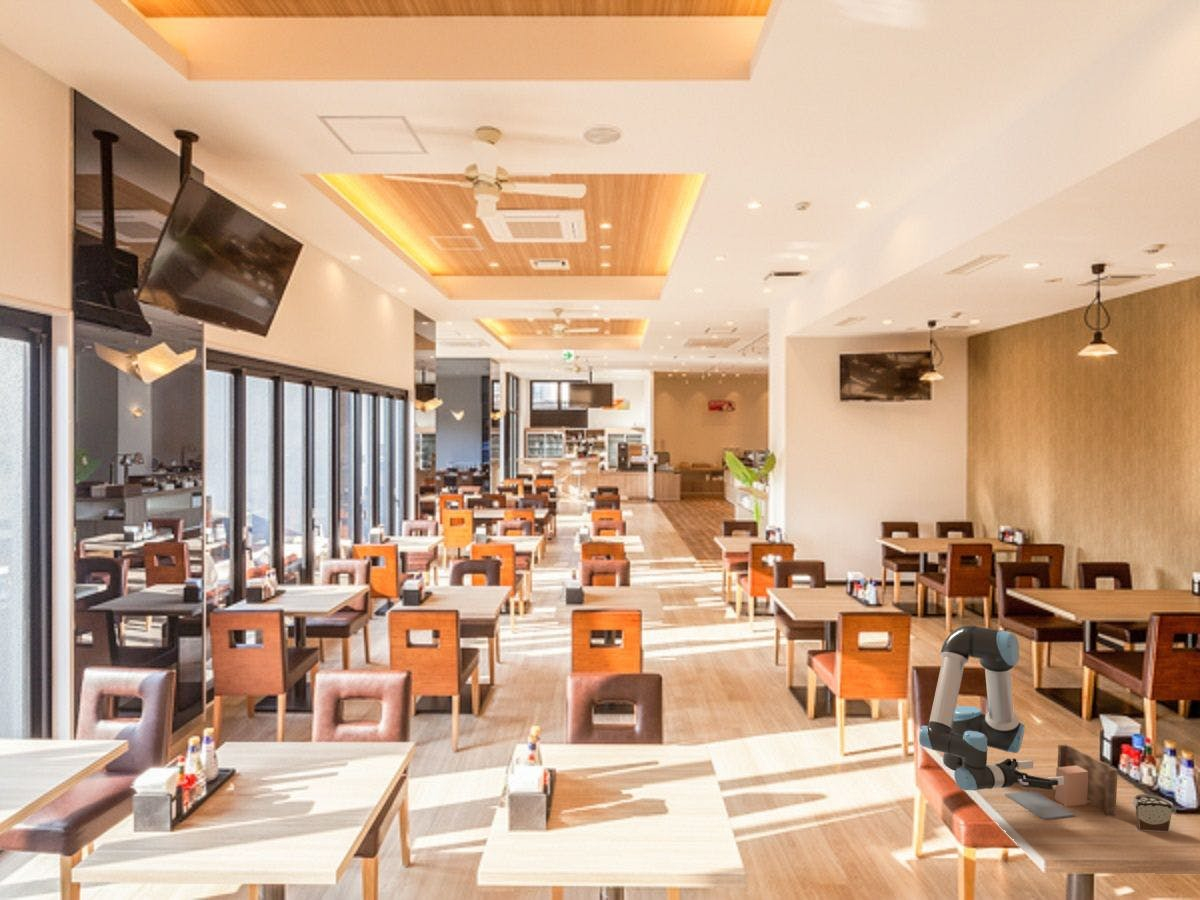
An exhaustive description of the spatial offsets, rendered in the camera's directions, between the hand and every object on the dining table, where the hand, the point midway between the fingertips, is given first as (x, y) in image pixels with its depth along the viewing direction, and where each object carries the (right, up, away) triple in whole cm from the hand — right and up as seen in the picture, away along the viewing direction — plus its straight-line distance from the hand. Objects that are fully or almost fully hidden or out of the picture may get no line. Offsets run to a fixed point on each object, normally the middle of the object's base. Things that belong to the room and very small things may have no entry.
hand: (1047, 772), depth 277 cm
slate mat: (-3, -12, 0) cm, 12 cm away
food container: (+27, -13, -13) cm, 33 cm away
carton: (+11, -12, +4) cm, 17 cm away
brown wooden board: (+17, -12, +5) cm, 21 cm away
